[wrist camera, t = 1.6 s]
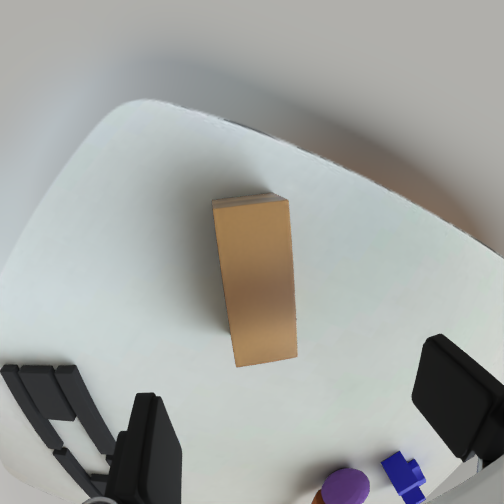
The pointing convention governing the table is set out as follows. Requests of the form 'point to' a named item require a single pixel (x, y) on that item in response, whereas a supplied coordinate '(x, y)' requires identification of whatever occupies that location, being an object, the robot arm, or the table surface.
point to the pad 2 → (83, 473)
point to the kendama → (343, 488)
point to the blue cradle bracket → (405, 478)
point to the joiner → (257, 276)
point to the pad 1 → (56, 402)
